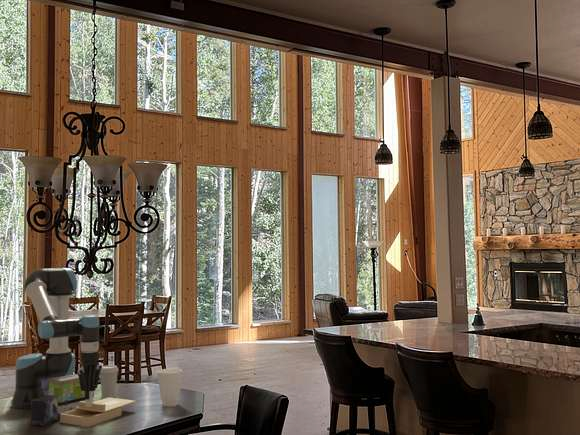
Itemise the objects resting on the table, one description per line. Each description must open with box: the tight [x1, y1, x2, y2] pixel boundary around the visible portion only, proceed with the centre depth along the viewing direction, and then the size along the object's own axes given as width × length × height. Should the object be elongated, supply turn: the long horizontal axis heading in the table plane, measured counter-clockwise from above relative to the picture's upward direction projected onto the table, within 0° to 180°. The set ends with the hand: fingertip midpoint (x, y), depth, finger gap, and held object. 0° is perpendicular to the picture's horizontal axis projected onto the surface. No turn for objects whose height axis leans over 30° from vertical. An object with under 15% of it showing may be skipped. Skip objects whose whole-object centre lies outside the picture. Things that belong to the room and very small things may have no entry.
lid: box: [76, 397, 137, 412], centre depth 277 cm, size 17×20×3 cm
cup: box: [156, 368, 183, 408], centre depth 292 cm, size 12×12×16 cm
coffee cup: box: [99, 364, 120, 399], centre depth 309 cm, size 10×10×15 cm
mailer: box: [59, 407, 123, 427], centre depth 268 cm, size 16×20×4 cm
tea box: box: [48, 373, 86, 414], centre depth 285 cm, size 15×10×15 cm
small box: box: [30, 394, 59, 427], centre depth 263 cm, size 11×6×10 cm, turn 168°
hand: (89, 406), depth 267 cm, fingers closed
